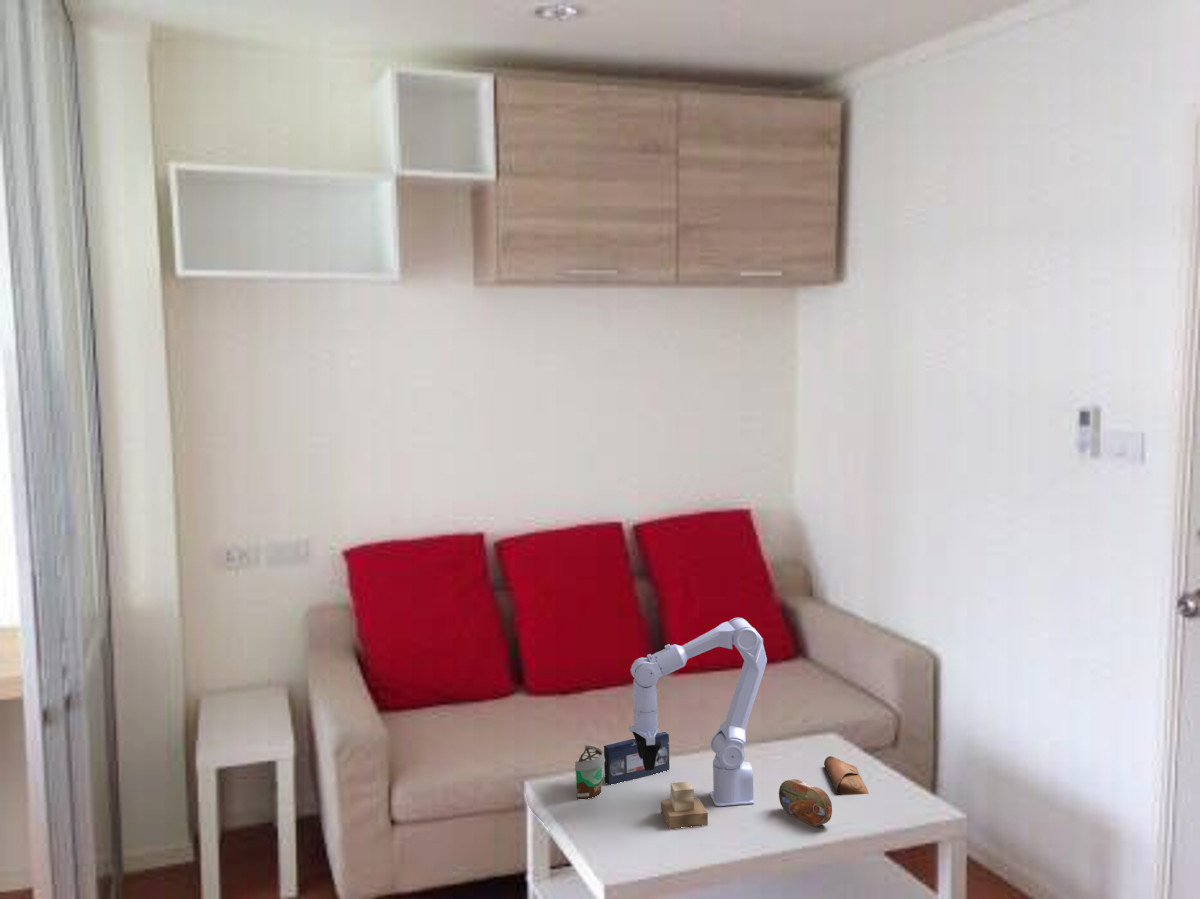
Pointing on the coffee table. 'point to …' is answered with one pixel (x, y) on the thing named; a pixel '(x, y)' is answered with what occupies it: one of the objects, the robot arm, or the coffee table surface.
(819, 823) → the tin
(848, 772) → the sunglasses case
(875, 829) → the coffee table surface
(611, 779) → the vhs cassette tape
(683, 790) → the maple cube
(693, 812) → the tan flat block
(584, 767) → the food container
